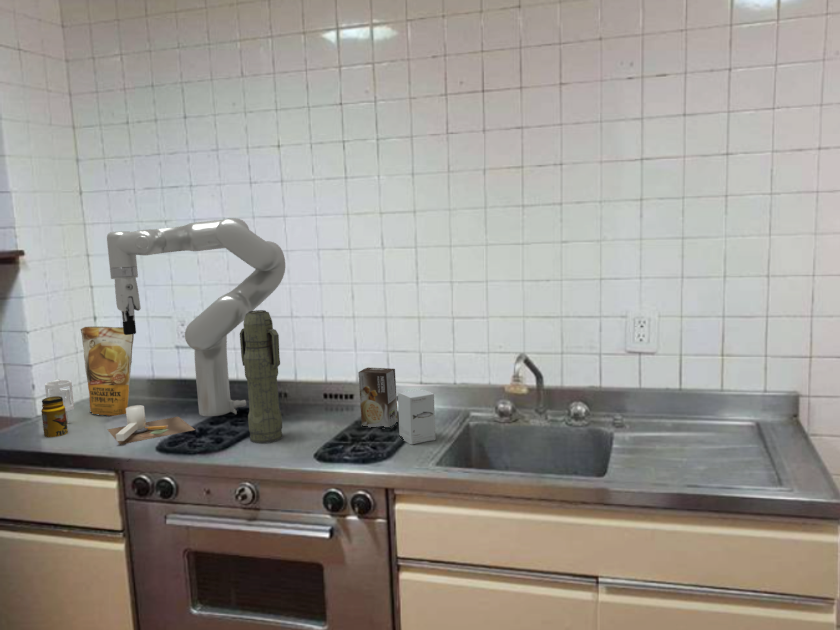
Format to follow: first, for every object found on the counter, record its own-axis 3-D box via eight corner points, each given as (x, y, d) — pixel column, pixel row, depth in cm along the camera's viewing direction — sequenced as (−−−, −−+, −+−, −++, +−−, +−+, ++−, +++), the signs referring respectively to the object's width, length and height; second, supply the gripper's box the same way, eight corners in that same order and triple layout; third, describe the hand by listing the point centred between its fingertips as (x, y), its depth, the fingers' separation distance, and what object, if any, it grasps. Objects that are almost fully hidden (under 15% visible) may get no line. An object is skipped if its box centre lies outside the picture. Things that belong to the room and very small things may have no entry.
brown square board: (178, 421, 215) (178, 416, 215) (195, 434, 200) (195, 429, 200) (107, 434, 204) (107, 429, 204) (120, 449, 189) (119, 444, 189)
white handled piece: (129, 427, 204) (127, 405, 203) (169, 425, 204) (167, 403, 203) (108, 445, 188) (105, 421, 187) (151, 442, 188) (148, 418, 187)
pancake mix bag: (97, 409, 234) (88, 325, 230) (143, 412, 227) (134, 326, 223) (81, 414, 228) (71, 328, 224) (127, 418, 221) (118, 329, 217)
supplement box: (411, 445, 183) (409, 397, 181) (398, 438, 189) (396, 392, 188) (436, 440, 186) (434, 393, 184) (423, 433, 193) (421, 387, 191)
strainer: (48, 432, 209) (42, 382, 207) (52, 425, 216) (46, 377, 214) (74, 429, 211) (69, 379, 209) (77, 422, 218) (72, 375, 216)
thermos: (277, 444, 188) (267, 313, 183) (238, 441, 192) (228, 313, 187) (293, 434, 196) (285, 309, 192) (256, 432, 200) (247, 309, 196)
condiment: (71, 439, 201) (66, 398, 199) (37, 446, 196) (32, 403, 194) (67, 433, 207) (63, 393, 205) (35, 439, 202) (30, 398, 200)
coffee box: (399, 423, 203) (396, 368, 201) (389, 429, 198) (387, 373, 195) (370, 420, 207) (367, 366, 205) (360, 427, 201) (357, 371, 199)
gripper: (143, 273, 207) (149, 335, 209) (131, 271, 219) (136, 330, 222) (116, 275, 203) (122, 338, 205) (105, 273, 215) (111, 333, 217)
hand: (130, 334), depth 213 cm, fingers closed
